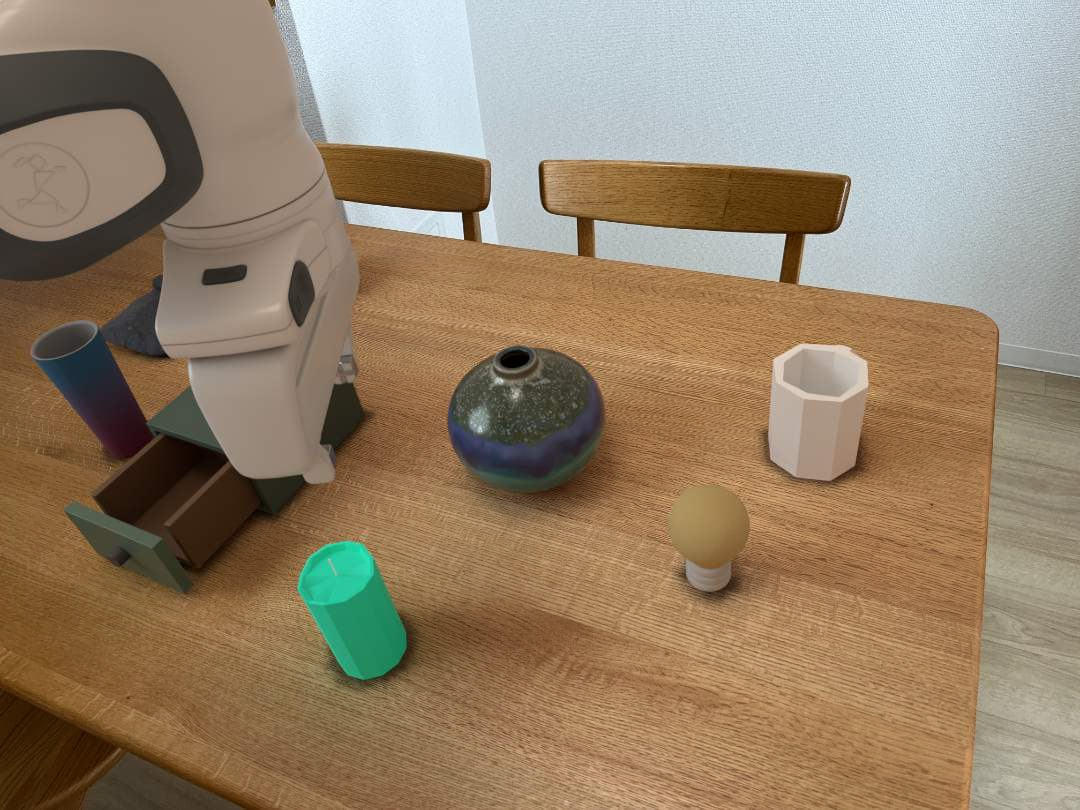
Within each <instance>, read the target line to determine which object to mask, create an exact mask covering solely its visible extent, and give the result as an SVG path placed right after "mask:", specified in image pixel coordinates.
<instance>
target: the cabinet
mask: <svg viewBox="0 0 1080 810" xmlns="http://www.w3.org/2000/svg"><path fill="white" fill-rule="evenodd" d="M365 418H366V414H365V410H364V408H363V406H362V403H361V400H360V398H359V395H358V392H357V390H356V386H355V384H354V382H353V383H346V382H345V383H343V384H339V385H338V384H334V386H333V390H332V394H331V397H330V401H329V405H328V409H327V413H326V417H325V421H324V425H323V429H322V433H321V439H320V442H319V443H320V445H329V444H331V445H332V448H333V450H334V451H335V450H336V449H337V448H338V447H339V446H340V445H341V443H343V441H344V440H345V439H346V438H347V437H348V436H349V435H350V434H351V433H352V431H353V430H354V429H355V428H356V427H357V426H358V425H359V424H360V423H361V422H362V421H363V420H364V419H365ZM146 424H147V426H148V428H149V429H150V431H151V432H152V434H153V438H155V437H156V436H158V435H159V434H160V433H163V434H166V435H169V436H172V437H175V438H178V439H181V440H184V441H187V442H190V443H193V444H196V445H199V446H202V447H205V448H208V449H211V450H214V451H217V452H220V453H223V454H225V452H224V451H223V449H222V447H221V446H220V444H219V442H218V441H217V439H216V437H215V435H214V433H213V432H212V430H211V428H210V426H209V424H208V423H207V421H206V419H205V417H204V415H203V413H202V411H201V409H200V407H199V405H198V403H197V401H196V399H195V396H194V394H193V391H192V388H191V384H190V385H189V386H187V387H186V388H185V389H184V390H183V391H181V393H179V394H178V395H177V396H176V397H175V398H174V399H172V400H171V401H170V402H169V403H168V404H166V405H165V406H164V407H163V408H162V409H161V410H160V411H158V412H157V413H156V414H155V415H153V416H152V417H151V418H150V419H148V420H147V423H146ZM250 479H251V481H252V483H253V484H254V486H255V488H256V490H257V492H258V494H259V496H260V497H261V499H262V501H263V502H262V503H261V504H260V505H259V506H258V507H257V508H256V509H257V510H260V511H263V512H266V513H267V514H271V515H273V516H274V515H276V514H277V513H278V512H279V511H280V510H281V509H282V507H284V506H285V505H286V503H287V502H288V501H289V500H290V499H291V498H292V496H293V495H294V494H295V493H296V492H297V491H298V490H299V489H300V488H301V487H302V486H303V485H304V484H305V483H306V481H305V479H304V477H303V475H302V474H300V475H294V476H287V477H280V478H269V479H253V478H250Z"/></svg>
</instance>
